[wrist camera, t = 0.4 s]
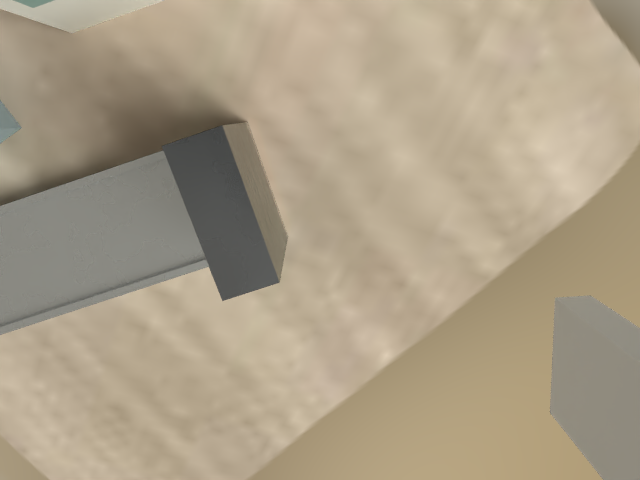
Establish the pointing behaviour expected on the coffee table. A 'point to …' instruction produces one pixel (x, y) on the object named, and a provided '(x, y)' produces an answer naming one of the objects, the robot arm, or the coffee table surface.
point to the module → (73, 11)
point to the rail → (143, 229)
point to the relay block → (7, 123)
